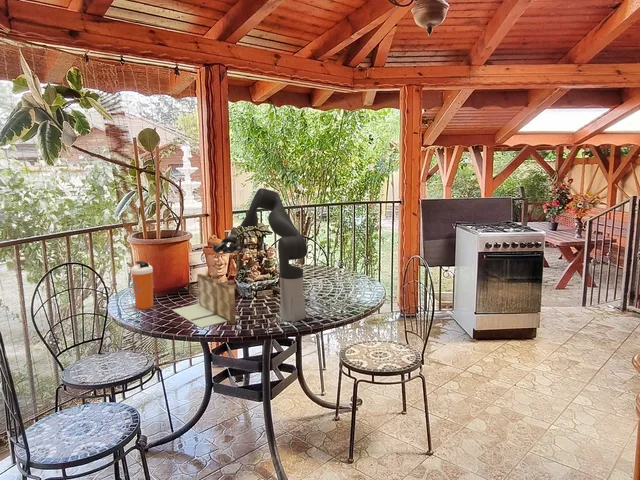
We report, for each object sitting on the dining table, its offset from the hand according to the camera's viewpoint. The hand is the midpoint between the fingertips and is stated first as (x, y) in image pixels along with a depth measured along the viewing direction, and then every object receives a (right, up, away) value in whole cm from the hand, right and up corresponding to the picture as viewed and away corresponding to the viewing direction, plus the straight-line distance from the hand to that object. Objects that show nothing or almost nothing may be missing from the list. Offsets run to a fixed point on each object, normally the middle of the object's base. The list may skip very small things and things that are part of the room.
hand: (220, 250), depth 195 cm
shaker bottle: (-33, -25, +1) cm, 42 cm away
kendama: (+26, -19, +31) cm, 44 cm away
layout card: (-4, -26, -10) cm, 28 cm away
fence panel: (-4, -24, -4) cm, 25 cm away
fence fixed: (+5, -27, -15) cm, 32 cm away
